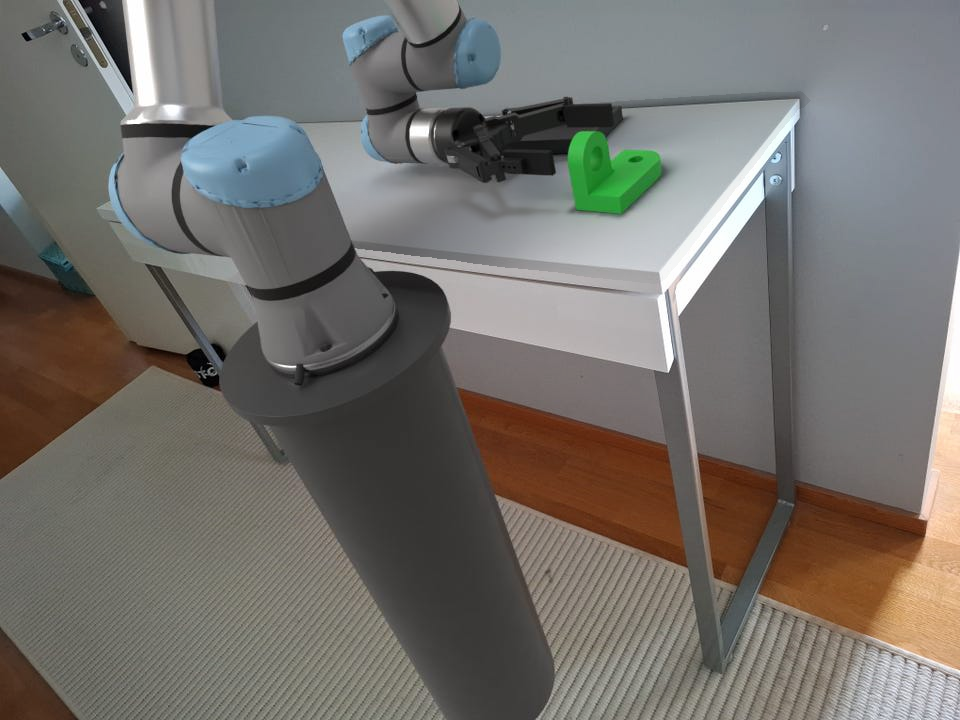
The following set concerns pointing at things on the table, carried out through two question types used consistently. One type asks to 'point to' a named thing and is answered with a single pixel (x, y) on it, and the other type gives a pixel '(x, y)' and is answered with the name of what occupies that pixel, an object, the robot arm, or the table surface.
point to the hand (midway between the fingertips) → (583, 138)
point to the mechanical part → (608, 173)
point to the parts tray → (558, 136)
